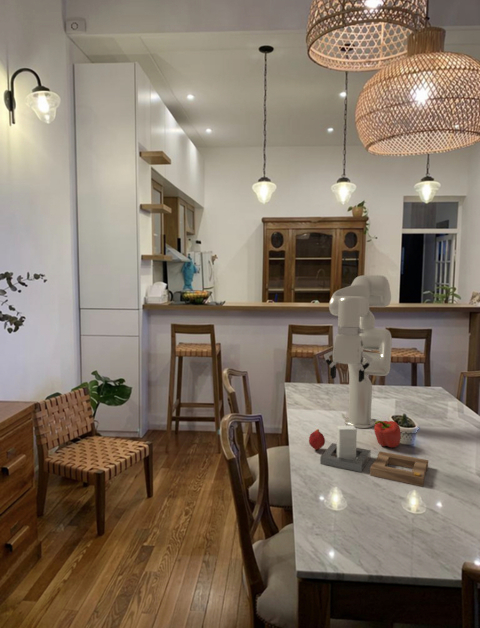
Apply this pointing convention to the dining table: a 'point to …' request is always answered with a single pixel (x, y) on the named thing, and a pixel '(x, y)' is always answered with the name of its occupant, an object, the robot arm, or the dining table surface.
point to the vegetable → (387, 433)
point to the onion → (316, 440)
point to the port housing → (397, 474)
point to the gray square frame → (344, 463)
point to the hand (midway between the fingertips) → (346, 379)
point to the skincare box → (346, 442)
